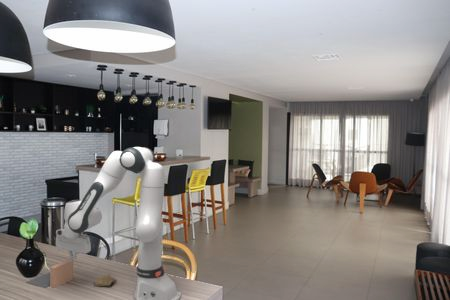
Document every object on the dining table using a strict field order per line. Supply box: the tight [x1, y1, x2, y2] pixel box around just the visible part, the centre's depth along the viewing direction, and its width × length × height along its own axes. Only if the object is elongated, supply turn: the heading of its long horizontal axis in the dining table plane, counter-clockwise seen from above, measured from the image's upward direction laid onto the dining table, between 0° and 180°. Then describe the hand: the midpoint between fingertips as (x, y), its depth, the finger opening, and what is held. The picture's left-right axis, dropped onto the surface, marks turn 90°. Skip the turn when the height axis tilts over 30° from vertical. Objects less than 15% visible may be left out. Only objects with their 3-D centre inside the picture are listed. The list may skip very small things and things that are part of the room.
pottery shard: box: [93, 274, 117, 287], centre depth 184 cm, size 11×4×10 cm
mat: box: [25, 271, 50, 289], centre depth 188 cm, size 14×16×1 cm
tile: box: [49, 258, 75, 289], centre depth 184 cm, size 3×12×10 cm, turn 157°
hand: (73, 259), depth 181 cm, fingers closed
